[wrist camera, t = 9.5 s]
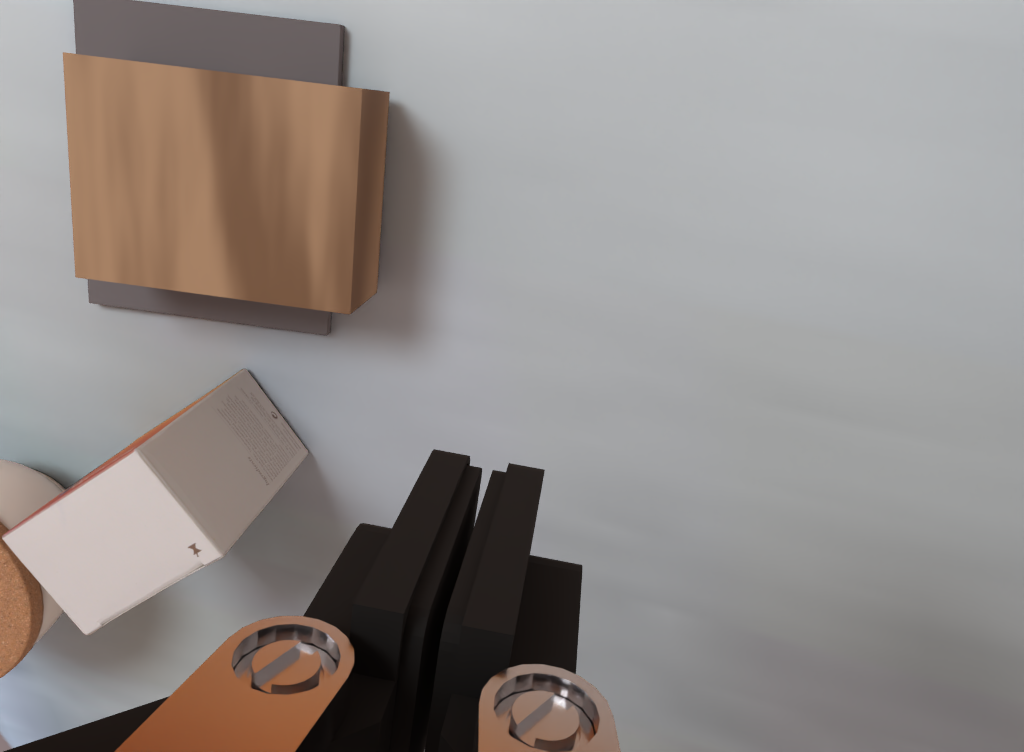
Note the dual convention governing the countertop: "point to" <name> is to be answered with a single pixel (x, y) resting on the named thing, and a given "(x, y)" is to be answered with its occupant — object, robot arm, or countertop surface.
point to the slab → (225, 182)
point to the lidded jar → (22, 566)
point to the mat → (218, 47)
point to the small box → (160, 505)
